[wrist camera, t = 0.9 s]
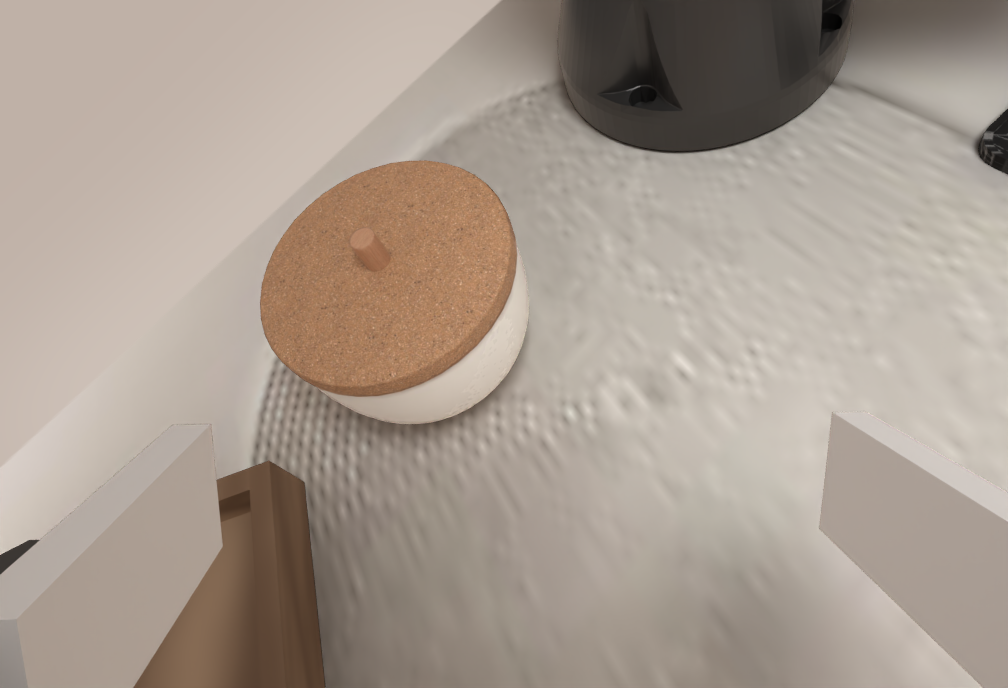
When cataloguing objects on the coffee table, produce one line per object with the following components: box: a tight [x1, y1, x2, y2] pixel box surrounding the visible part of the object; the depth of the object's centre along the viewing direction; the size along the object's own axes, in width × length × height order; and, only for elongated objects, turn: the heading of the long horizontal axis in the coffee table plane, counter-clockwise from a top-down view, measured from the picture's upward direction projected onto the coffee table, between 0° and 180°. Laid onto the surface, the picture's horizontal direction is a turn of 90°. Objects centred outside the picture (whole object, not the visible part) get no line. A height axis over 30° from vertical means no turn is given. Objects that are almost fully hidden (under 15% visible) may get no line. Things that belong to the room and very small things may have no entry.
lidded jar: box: [260, 161, 529, 424], centre depth 31 cm, size 11×11×9 cm
